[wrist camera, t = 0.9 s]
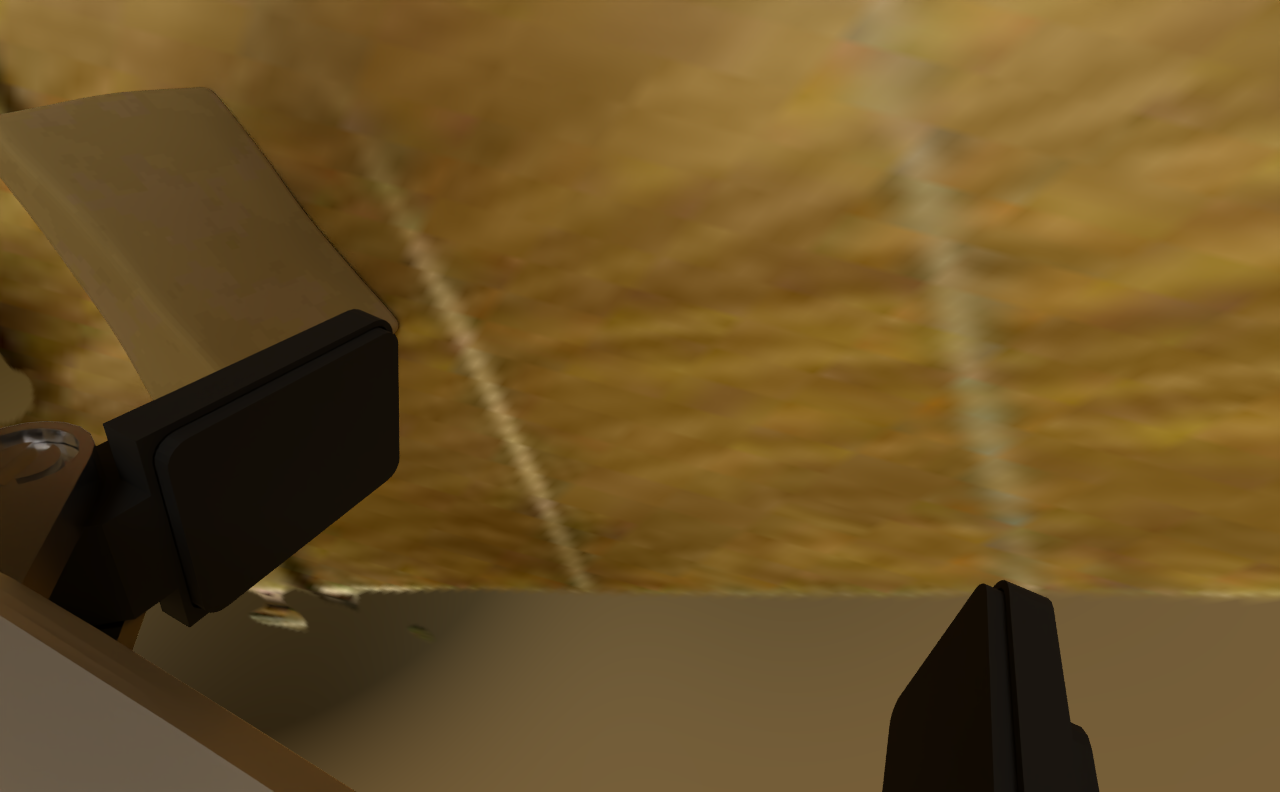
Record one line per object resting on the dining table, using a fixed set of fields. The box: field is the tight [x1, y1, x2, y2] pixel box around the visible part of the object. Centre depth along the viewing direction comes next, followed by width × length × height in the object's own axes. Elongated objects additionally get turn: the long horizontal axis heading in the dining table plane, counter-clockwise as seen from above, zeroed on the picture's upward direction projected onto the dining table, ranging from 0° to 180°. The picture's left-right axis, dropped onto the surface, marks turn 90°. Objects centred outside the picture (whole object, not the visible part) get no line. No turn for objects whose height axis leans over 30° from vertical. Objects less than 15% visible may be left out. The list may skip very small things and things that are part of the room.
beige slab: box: [0, 87, 399, 400], centre depth 46 cm, size 22×10×15 cm, turn 31°
